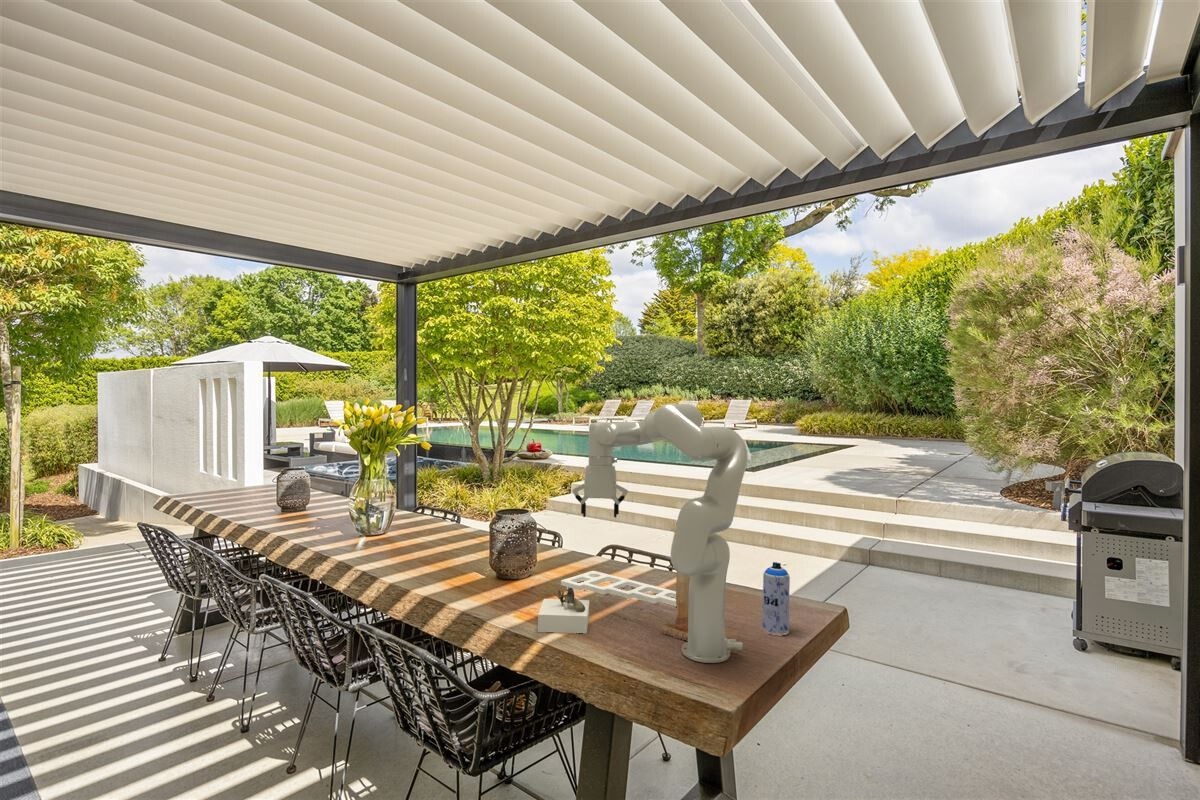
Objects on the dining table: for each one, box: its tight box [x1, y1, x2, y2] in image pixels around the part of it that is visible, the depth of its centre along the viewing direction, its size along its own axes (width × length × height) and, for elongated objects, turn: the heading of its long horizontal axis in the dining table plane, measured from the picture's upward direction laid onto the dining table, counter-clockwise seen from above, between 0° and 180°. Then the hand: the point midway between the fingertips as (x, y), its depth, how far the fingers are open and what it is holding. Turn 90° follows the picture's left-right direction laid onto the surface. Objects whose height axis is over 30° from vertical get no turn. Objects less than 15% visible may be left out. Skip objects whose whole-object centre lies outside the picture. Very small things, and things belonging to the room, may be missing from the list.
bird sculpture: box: [660, 571, 691, 642], centre depth 174 cm, size 11×12×32 cm
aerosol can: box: [761, 561, 791, 634], centre depth 177 cm, size 8×8×20 cm
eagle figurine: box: [552, 587, 585, 612], centre depth 178 cm, size 8×7×9 cm
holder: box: [560, 570, 677, 606], centre depth 208 cm, size 45×18×3 cm, turn 51°
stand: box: [537, 598, 590, 635], centre depth 179 cm, size 14×14×5 cm
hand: (599, 516), depth 189 cm, fingers open, 9 cm apart
